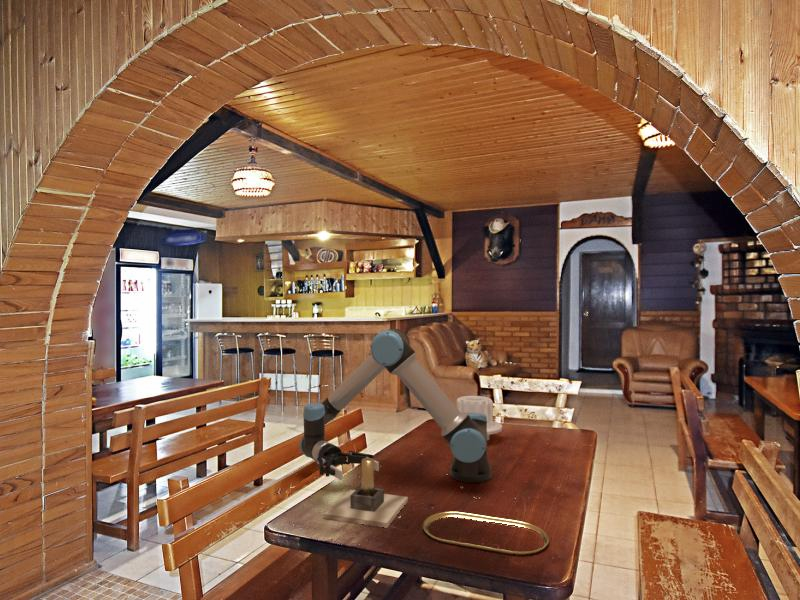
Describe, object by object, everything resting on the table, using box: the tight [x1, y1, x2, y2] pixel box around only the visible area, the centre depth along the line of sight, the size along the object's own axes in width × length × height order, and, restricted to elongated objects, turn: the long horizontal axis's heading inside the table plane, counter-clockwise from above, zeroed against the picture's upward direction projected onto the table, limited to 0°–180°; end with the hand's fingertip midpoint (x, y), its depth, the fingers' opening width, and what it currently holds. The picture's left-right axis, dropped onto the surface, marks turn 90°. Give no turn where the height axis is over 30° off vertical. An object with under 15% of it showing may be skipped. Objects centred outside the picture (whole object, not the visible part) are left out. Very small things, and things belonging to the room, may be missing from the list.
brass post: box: [360, 457, 375, 497], centre depth 161 cm, size 4×4×14 cm
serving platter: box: [422, 511, 550, 556], centre depth 144 cm, size 19×35×2 cm, turn 69°
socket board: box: [323, 485, 409, 529], centre depth 161 cm, size 20×20×6 cm
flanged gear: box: [456, 395, 503, 441], centre depth 238 cm, size 25×25×19 cm
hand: (360, 471), depth 163 cm, fingers open, 13 cm apart
